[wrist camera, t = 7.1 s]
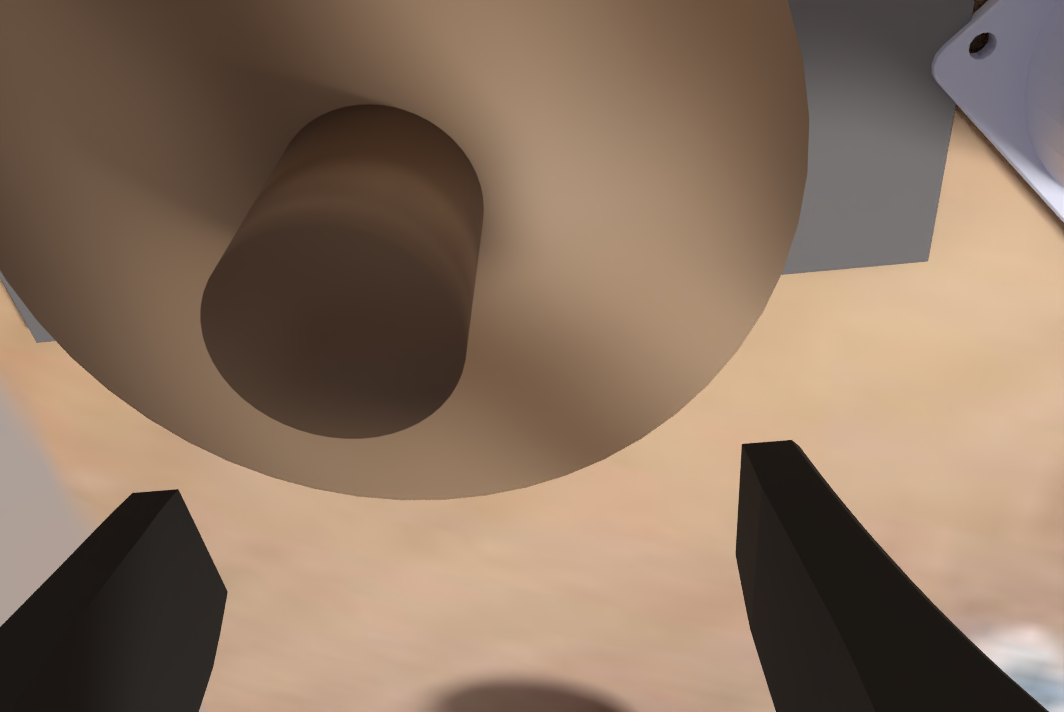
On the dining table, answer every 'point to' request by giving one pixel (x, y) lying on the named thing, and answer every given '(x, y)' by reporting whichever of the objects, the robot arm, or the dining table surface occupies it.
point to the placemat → (856, 133)
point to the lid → (401, 220)
